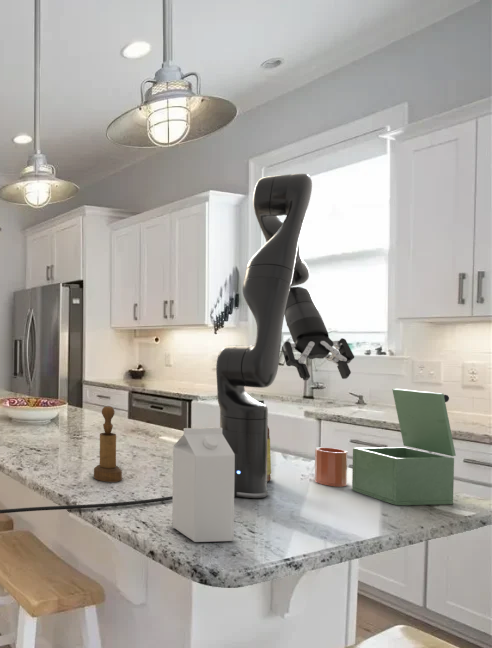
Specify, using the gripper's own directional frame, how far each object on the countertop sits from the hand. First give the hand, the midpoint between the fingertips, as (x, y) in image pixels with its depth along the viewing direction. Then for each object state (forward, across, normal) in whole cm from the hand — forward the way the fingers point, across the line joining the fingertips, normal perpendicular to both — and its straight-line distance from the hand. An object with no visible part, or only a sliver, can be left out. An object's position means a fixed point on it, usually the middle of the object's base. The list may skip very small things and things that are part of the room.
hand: (326, 378), depth 123 cm
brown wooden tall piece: (+23, -54, +4) cm, 59 cm away
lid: (+14, +12, -4) cm, 19 cm away
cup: (+23, -2, +11) cm, 25 cm away
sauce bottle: (+22, -18, +10) cm, 31 cm away
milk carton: (+42, -42, -24) cm, 65 cm away
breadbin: (+28, +7, +4) cm, 29 cm away
